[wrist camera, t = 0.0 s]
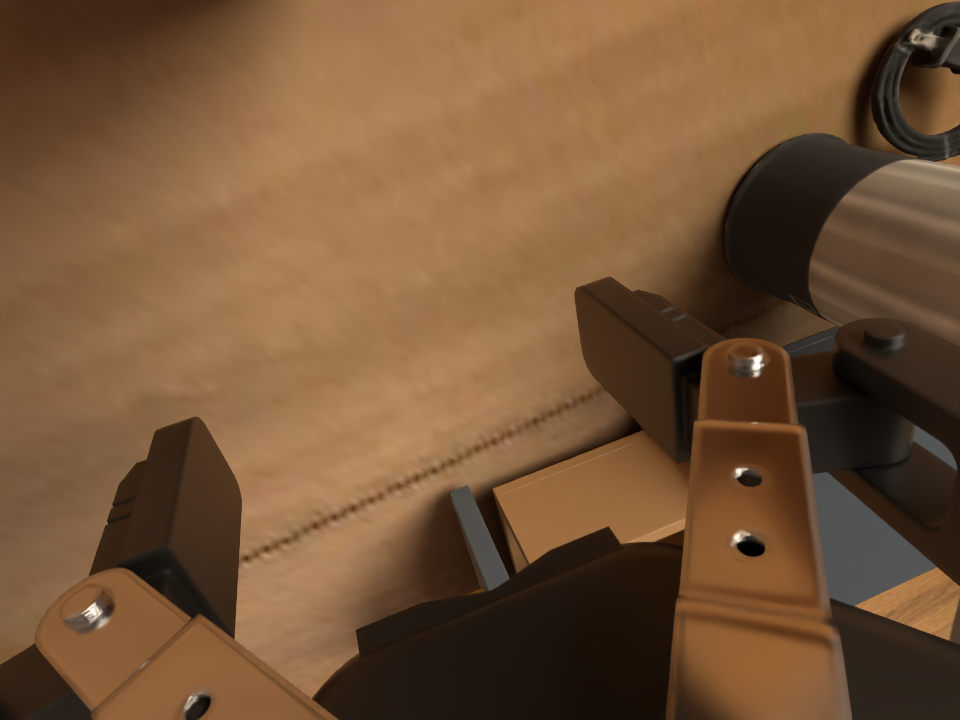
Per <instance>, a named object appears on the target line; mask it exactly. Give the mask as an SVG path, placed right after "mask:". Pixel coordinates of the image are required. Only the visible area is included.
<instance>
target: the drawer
mask: <svg viewBox="0 0 960 720" xmlns="http://www.w3.org/2000/svg"><path fill="white" fill-rule="evenodd" d="M689 474H690V462H689V461H688V460H686V461H684V462H681V463H679V464H677V463H676V462H675V461H674V460H673V459H672V458H671V457H670V456H669V455H668V454H667V453H666V452H665V451H664V450H663V449H662V448H661V447H660V445H659V444H658V443H657V442H656V441H655V440H654V439H653V438H652V437H651V436H650V435H649V434H648V433H647V432H646V431H645V430H642V431H640V432H637V433H635V434H632V435H630V436H627V437H624V438H622V439H619V440H617V441H614V442H612V443H609V444H606V445H604V446H601V447H599V448H596V449H593V450H591V451H588V452H586V453H583V454H581V455H578V456H575V457H573V458H570V459H568V460H565V461H563V462H560V463H557V464H555V465H552V466H550V467H547V468H544V469H542V470H539V471H537V472H534V473H532V474H529V475H526V476H524V477H521V478H519V479H516V480H514V481H511V482H508V483H506V484H503V485H501V486H498V487H495V488H493V494H494V497H495V501H496V505H497V508H498V512H499V516H500V519H501V523H502V527H503V530H504V534H505V538H506V541H507V545H508V549H509V553H510V556H511V560H512V564H513V567H514V571H515V574H517V573H518V572H520V571H521V570H522V569H524V568H525V567H527V566H528V565H529V564H531V563H532V562H534V561H535V560H537V559H538V558H539V557H541V556H542V555H544V554H545V553H547V552H548V551H549V550H552V549H554V548H556V547H559V546H561V545H564V544H566V543H569V542H571V541H573V540H576V539H578V538H581V537H583V536H586V535H588V534H590V533H593V532H595V531H598V530H600V529H603V528H605V527H607V526H609V527H610V529H611V530H612V532H613V533H614V535H615V536H616V537H617V539H618V540H619V542H620V543H621V544H624V543H633V542H662V543H669V544H676V545H681V546H683V544H684V532H685V521H686V509H687V497H688V486H689ZM450 496H451V499H452V502H453V505H454V508H455V511H456V515H457V518H458V521H459V524H460V527H461V530H462V533H463V536H464V539H465V542H466V545H467V548H468V551H469V554H470V558H471V561H472V564H473V567H474V570H475V573H476V576H477V579H478V582H479V585H480V588H481V589H479V590H476V591H474V592H472V593H469V594H467V595H470V594H476V593H481V592H486V591H490V590H493V589H495V588H496V587H498V586H500V585H501V584H502V583H504V582H505V581H507V580H508V579H510V578H509V576H508V574H507V571H506V569H505V567H504V565H503V562H502V560H501V558H500V556H499V554H498V551H497V549H496V547H495V545H494V542H493V540H492V538H491V536H490V533H489V531H488V529H487V527H486V524H485V522H484V520H483V518H482V515H481V513H480V511H479V509H478V506H477V504H476V502H475V500H474V497H473V495H472V493H471V491H470V488H469V486H468V485H467V486H464V487H461V488H459V489H456V490H454V491H451V492H450Z"/></svg>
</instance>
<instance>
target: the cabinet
mask: <svg viewBox="0 0 960 720" xmlns="http://www.w3.org/2000/svg"><path fill="white" fill-rule="evenodd" d="M839 328H840V327H839V326H837V327H834V328H831V329H829V330H826V331H823V332H821V333H818V334H815V335H813V336H810V337H808V338H805V339H802V340H800V341H797V342H794V343H792V344H789V345H786V346H784V347H782V348H783V349H784V350H785V351H786V352H787V353H788V354H789V356H798V355H805V354H812V353H819V352H826V351H833V349H834V341H835V334H836V332H837V330H838V329H839ZM640 427H641V426H640ZM642 430H644V429H643V428H642V427H641V431H642ZM913 441H915V442H916V443H918V444H919V445H921V446H922V447H924V448H925V449H926V450H928V451H929V452H931V453H932V454H934V455H935V456H937V457H938V458H940V459H941V460H942V461H944V462H945V463H947V464H948V465H950V466H951V467H953V468H954V469H956V470H957V464H956V461H955V459H954V457H953V455H952V453H951V452H950V451H949V449H948V448H947V447H946V446H945V445H944V444H943V443H941V442H940V441H939V440H937V439H936V438H934V437H933V436H931V435H930V434H928V433H927V432H925V431H924V430H922V429H921V428H919V427H918V426H917V427H916V431H915V436H914V440H913ZM688 461H689V462H690V463H691V459H689V460H688ZM813 481H814V488H815V496H816V503H817V511H818V518H819V525H820V533H821V540H822V548H823V555H824V562H825V570H826V577H827V585H828V592H829V597H830V598H832V599H835V600H838V601H841V602H843V603H846V604H849V605H852V606H854V605H857V604H859V603H861V602H863V601H865V600H867V599H869V598H872V597H874V596H876V595H878V594H880V593H882V592H885V591H887V590H889V589H891V588H893V587H895V586H897V585H900V584H902V583H904V582H906V581H908V580H910V579H912V578H915V577H917V576H919V575H921V574H923V573H925V572H927V571H930V570H932V569H934V568H936V567H937V566H936V565H934V564H933V563H932V562H931V561H930V560H929V559H928V558H926V557H925V556H924V555H923V554H922V553H921V552H919V551H918V550H917V549H916V548H915V547H914V546H912V545H911V544H910V543H909V542H908V541H907V540H906V539H904V538H903V537H902V536H901V535H900V534H899V533H897V532H896V531H895V530H894V529H893V528H892V527H890V526H889V525H888V524H887V523H886V522H885V521H884V520H882V519H881V518H880V517H879V516H878V515H877V514H875V513H874V512H873V511H872V510H871V509H870V508H868V507H867V506H866V505H865V504H864V503H863V502H862V501H860V500H859V499H858V498H857V497H856V496H855V495H853V494H852V493H851V492H850V491H849V490H848V489H846V488H845V487H844V486H843V485H842V484H841V483H839V482H838V481H837V480H836V479H835V478H834V477H833V476H831V475H830V474H829V473H828V472H824V473H816V474H813Z"/></svg>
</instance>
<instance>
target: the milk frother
mask: <svg viewBox="0 0 960 720" xmlns="http://www.w3.org/2000/svg"><path fill="white" fill-rule="evenodd" d="M913 51H916V52H915V54H914V56H913V57H912V60H911V64H912V65H914V66H916V67H929V68H937V67H948V68H950V69H951V72H952V73H954V74H960V1H958V2H949V3H944V4H940V5H936V6H934V7H932V8H930V9H928V10H926V11H924V12H923V13H921V14H920V15H918V16H917V17H915V18H914V19H913V20H912V21H910V22H909V23H908V24H907V25H906V26H905V27H904V28H903V29H902V30H901V32H900V33H899V34H898V35H897V36H896V37H895V38H894V40H893V42H892V43H891V45H890V46H889V47H888V49H887V51H886V53H885V54H884V56H883V58H882V60H881V62H880V64H879V67H878V69H877V72H876V75H875V78H874V81H873V85H872V90H871V107H872V114H873V119H874V121H875V123H876V124H877V128H878V130H879V132H880V133H881V135H882V136H883V137H884V138H885V139H886V140H887V141H888V142H889V143H890V144H891V145H893V146H894V147H896V148H897V149H898V150H900V151H902V152H904V153H907V154H911V155H915V156H917V157H918V158H912V157H906V156H901V155H896V154H892V153H887V152H882V151H878V150H873V149H869V148H864V147H860V146H856V145H852V144H848V143H846V142H845V141H844V140H842V139H841V138H838V137H836V136H833V135H830V134H824V133H813V134H804V135H801V136H798V137H795V138H792V139H790V140H788V141H785V142H783V143H782V144H780V145H778V146H777V147H776V148H774V149H773V150H771V151H770V152H768V153H767V154H766V155H765V156H764V157H763V158H762V159H761V160H760V161H759V162H758V163H757V164H756V166H755V167H754V168H753V169H752V170H751V171H750V172H749V174H748V175H747V177H746V178H745V180H744V181H743V183H742V184H741V185H740V187H739V189H738V191H737V192H736V194H735V197H734V199H733V201H732V204H731V206H730V209H729V213H728V216H727V220H726V225H725V235H724V247H725V254H726V258H727V262H728V264H729V266H730V268H731V271H732V272H733V274H734V275H735V276H736V277H737V278H738V279H739V280H740V281H741V282H742V283H743V284H745V285H746V286H748V287H751V288H753V289H755V290H758V291H763V292H767V293H769V294H771V295H773V296H776V297H777V298H780V299H782V300H785V301H788V302H792V303H794V304H796V305H798V306H800V307H802V308H804V309H805V310H807V311H808V312H810V313H812V314H815V315H817V316H819V317H820V318H823V319H825V320H827V321H829V322H831V323H833V324H835V325H837V326H839V327H842V326H843V325H845V324H847V323H849V322H852V321H856V320H861V319H869V318H886V319H895V320H900V321H905V322H908V323H911V324H914V325H916V326H919V327H921V328H923V329H925V330H927V331H929V332H931V333H933V334H935V335H937V336H939V337H941V338H943V339H945V340H947V341H949V342H951V343H953V344H955V345H957V346H959V347H960V166H955V165H949V164H944V163H938V162H937V161H941V160H946V159H947V158H950V157H954V156H958V155H960V125H958V126H957V127H955V128H953V129H951V130H949V131H946V132H944V133H940V134H936V135H925V134H922V133H919V132H918V131H916V130H914V129H913V128H912V127H911V126H910V125H909V124H908V123H907V122H906V120H905V118H904V116H903V114H902V111H901V107H900V102H899V84H900V80H901V75H902V73H903V70H904V67H905V65H906V63H907V61H908V59H909V57H910V55H911V54H912V52H913Z"/></svg>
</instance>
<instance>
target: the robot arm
mask: <svg viewBox="0 0 960 720" xmlns="http://www.w3.org/2000/svg"><path fill="white" fill-rule="evenodd" d="M575 304H576V312H577V319H578V326H579V333H580V340H581V347H582V353H583V357H584V360H585V362H586V365H587V367H588V369H589V371H590V372H591V374H592V375H593V376H594V378H595V379H596V380H597V381H598V382H599V383H600V384H601V385H602V386H603V387H604V388H605V389H606V390H607V391H608V392H609V393H610V394H611V395H612V396H613V397H614V398H615V399H616V401H617V402H618V403H619V404H620V405H621V406H622V407H623V408H624V409H625V410H626V411H627V412H628V413H629V414H630V415H631V416H632V417H633V418H634V419H635V420H636V421H637V422H638V424H639V425H640V426H641V427H642V428H643V429H644V430H645V431H646V432H647V433H648V434H649V435H650V436H651V437H652V438H653V439H654V440H655V441H656V442H657V443H658V444H659V445H660V447H661V448H662V449H663V450H664V451H665V452H666V453H667V454H668V455H669V456H670V457H671V458H672V459H673V460H674V461H675V462H676V463H677V464H679V463H681V462H684V461H686V460H689V459H691V463H690V474H689V486H688V497H687V509H686V521H685V532H684V544H683V546H681V545H676V544H669V543H662V542H633V543H624V544H621V543H620V542H619V540H618V539H617V537H616V536H615V535H614V533H613V532H612V530H611V529H610V527H609V526H607V527H605V528H603V529H600V530H598V531H595V532H593V533H590V534H588V535H586V536H583V537H581V538H578V539H576V540H573V541H571V542H569V543H566V544H564V545H561V546H559V547H556V548H554V549H552V550H549V551H548V552H547V553H545V554H544V555H542V556H541V557H539V558H538V559H537V560H535V561H534V562H532V563H531V564H529V565H528V566H527V567H525V568H524V569H522V570H521V571H520V572H518V573H517V574H515V575H514V576H512V577H511V578H510V579H508V580H507V581H505V582H504V583H502V584H501V585H500V586H498V587H496V588H495V589H493V590H490V591H486V592H481V593H476V594H470V595H464V596H459V597H453V598H447V599H441V600H436V601H430V602H424V603H420V604H418V605H415V606H413V607H410V608H408V609H406V610H403V611H401V612H398V613H396V614H393V615H391V616H389V617H386V618H384V619H381V620H379V621H376V622H374V623H372V624H369V625H367V626H364V627H362V628H359V629H357V630H356V633H357V640H358V647H359V653H358V654H357V655H356V656H354V657H353V658H351V659H350V660H349V661H348V662H347V663H345V664H344V665H343V666H342V667H341V668H339V669H338V670H337V671H336V672H335V673H334V674H333V675H332V676H331V677H330V678H329V679H328V680H327V681H326V682H325V683H324V684H323V685H322V687H321V688H320V689H319V690H318V691H317V693H316V694H315V695H314V696H313V698H312V699H311V698H310V697H309V696H307V695H306V694H305V693H303V692H302V691H301V690H299V689H298V688H297V687H295V686H294V685H293V684H292V683H290V682H289V681H288V680H286V679H285V678H284V677H282V676H281V675H280V674H279V673H277V672H276V671H275V670H273V669H272V668H271V667H269V666H268V665H267V664H265V663H264V662H263V661H262V660H260V659H259V658H258V657H256V656H255V655H254V654H252V653H251V652H250V651H248V650H247V649H246V648H245V647H243V646H242V645H241V644H239V643H238V642H237V641H235V640H234V636H235V618H236V601H237V583H238V565H239V547H240V529H241V511H242V499H241V493H240V489H239V486H238V483H237V480H236V478H235V476H234V474H233V472H232V470H231V469H230V467H229V465H228V463H227V462H226V460H225V458H224V456H223V455H222V453H221V451H220V450H219V448H218V446H217V444H216V443H215V441H214V439H213V437H212V436H211V434H210V432H209V430H208V429H207V427H206V425H205V424H204V422H203V421H202V420H201V419H200V418H199V417H192V418H189V419H186V420H183V421H181V422H178V423H175V424H172V425H169V426H166V427H163V428H160V429H157V430H156V431H155V433H154V436H153V440H152V443H151V447H150V450H149V454H148V457H147V460H144V461H141V462H139V463H136V464H135V465H134V467H133V468H132V469H131V470H130V472H129V473H128V474H127V475H126V477H125V478H124V479H123V480H122V482H121V483H120V484H119V486H118V489H117V492H116V495H115V498H114V501H113V504H112V505H113V508H112V509H111V510H110V513H109V516H108V519H107V522H108V525H106V526H105V529H104V532H103V535H102V538H101V541H100V544H99V547H98V550H97V553H96V556H95V559H94V562H93V565H92V568H91V571H90V574H89V577H87V578H85V579H84V580H82V581H80V582H79V583H77V584H76V585H74V586H73V587H71V588H70V589H69V590H67V591H66V592H65V593H64V594H63V595H61V596H60V597H59V598H58V599H57V600H56V601H55V602H54V603H53V604H52V605H51V607H50V608H49V609H48V610H47V611H46V613H45V614H44V616H43V617H42V619H41V621H40V623H39V625H38V627H37V630H36V633H35V644H34V645H32V646H31V647H29V648H27V649H26V650H24V651H23V652H21V653H19V654H18V655H16V656H14V657H13V658H11V659H9V660H8V661H6V662H4V663H3V664H1V665H0V720H960V645H959V644H957V643H954V642H951V641H948V640H946V639H943V638H940V637H937V636H935V635H932V634H929V633H926V632H924V631H921V630H918V629H915V628H912V627H910V626H907V625H904V624H901V623H899V622H896V621H893V620H890V619H888V618H885V617H882V616H879V615H877V614H874V613H871V612H868V611H866V610H863V609H860V608H857V607H854V606H852V605H849V604H846V603H843V602H841V601H838V600H835V599H832V598H830V597H829V592H828V585H827V577H826V570H825V562H824V555H823V548H822V540H821V533H820V525H819V518H818V511H817V503H816V496H815V488H814V481H813V474H816V473H824V472H828V473H829V474H830V475H831V476H833V477H834V478H835V479H836V480H837V481H838V482H839V483H841V484H842V485H843V486H844V487H845V488H846V489H848V490H849V491H850V492H851V493H852V494H853V495H855V496H856V497H857V498H858V499H859V500H860V501H862V502H863V503H864V504H865V505H866V506H867V507H868V508H870V509H871V510H872V511H873V512H874V513H875V514H877V515H878V516H879V517H880V518H881V519H882V520H884V521H885V522H886V523H887V524H888V525H889V526H890V527H892V528H893V529H894V530H895V531H896V532H897V533H899V534H900V535H901V536H902V537H903V538H904V539H906V540H907V541H908V542H909V543H910V544H911V545H912V546H914V547H915V548H916V549H917V550H918V551H919V552H921V553H922V554H923V555H924V556H925V557H926V558H928V559H929V560H930V561H931V562H932V563H933V564H934V565H936V566H937V567H938V568H939V569H940V570H941V571H943V572H944V573H945V574H946V575H947V576H948V577H950V578H951V579H952V580H953V581H954V582H955V583H957V584H958V585H959V586H960V347H959V346H957V345H955V344H953V343H951V342H949V341H947V340H945V339H943V338H941V337H939V336H937V335H935V334H933V333H931V332H929V331H927V330H925V329H923V328H921V327H919V326H916V325H914V324H911V323H908V322H905V321H900V320H895V319H886V318H869V319H861V320H856V321H852V322H849V323H847V324H845V325H843V326H842V327H840V328H839V329H838V330H837V332H836V334H835V341H834V349H833V351H826V352H819V353H812V354H805V355H798V356H789V354H788V353H787V352H786V351H785V350H784V349H783V348H782V347H780V346H779V345H777V344H774V343H772V342H769V341H766V340H761V339H755V338H736V339H729V340H727V339H725V338H724V337H722V336H721V335H719V334H718V333H716V332H715V331H713V330H712V329H710V328H709V327H707V326H706V325H704V324H703V323H701V322H699V321H698V320H696V319H695V318H693V317H692V316H690V317H689V316H688V314H687V313H686V312H684V311H683V310H681V309H680V308H676V306H675V305H674V304H672V303H671V302H669V301H668V300H666V299H665V298H663V297H662V296H660V295H656V294H652V293H648V292H644V291H641V290H637V291H634V292H632V291H630V290H629V289H627V288H626V287H624V286H623V285H622V284H620V283H619V282H617V281H616V280H615V279H613V278H611V277H607V278H604V279H601V280H598V281H595V282H592V283H589V284H586V285H583V286H580V287H577V288H576V290H575ZM917 426H918V427H919V428H921V429H922V430H924V431H925V432H927V433H928V434H930V435H931V436H933V437H934V438H936V439H937V440H939V441H940V442H941V443H943V444H944V445H945V446H946V447H947V448H948V449H949V451H950V452H951V453H952V455H953V457H954V459H955V461H956V464H957V470H956V469H954V468H953V467H951V466H950V465H948V464H947V463H945V462H944V461H942V460H941V459H940V458H938V457H937V456H935V455H934V454H932V453H931V452H929V451H928V450H926V449H925V448H924V447H922V446H921V445H919V444H918V443H916V442H915V441H913V440H914V436H915V431H916V427H917Z"/></svg>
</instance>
